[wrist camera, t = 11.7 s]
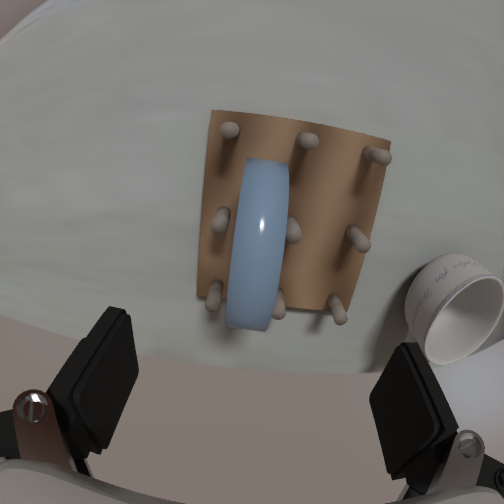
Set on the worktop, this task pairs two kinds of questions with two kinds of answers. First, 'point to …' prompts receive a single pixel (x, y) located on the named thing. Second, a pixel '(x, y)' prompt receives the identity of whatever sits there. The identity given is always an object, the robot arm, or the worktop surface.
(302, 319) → the worktop surface
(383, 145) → the dish rack
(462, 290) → the teacup
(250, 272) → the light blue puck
